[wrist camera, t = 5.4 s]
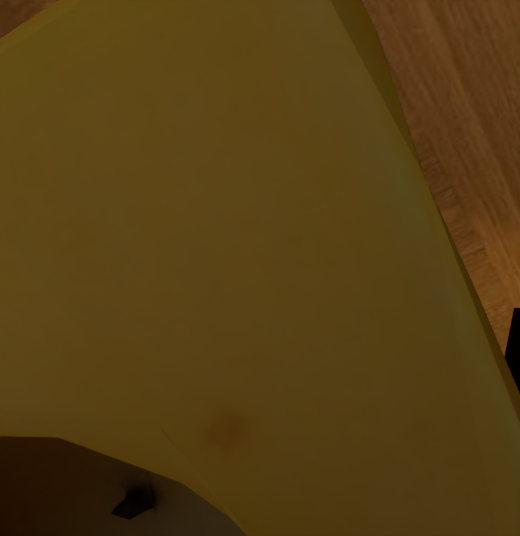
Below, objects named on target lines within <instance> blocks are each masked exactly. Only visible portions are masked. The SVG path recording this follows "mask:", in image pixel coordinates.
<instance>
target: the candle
mask: <svg viewBox="0 0 520 536" xmlns="http://www.w3.org/2000/svg"><path fill="white" fill-rule="evenodd" d="M0 536H520V393H519V391H518V388H517V386H516V384H515V381H514V379H513V376H512V374H511V372H510V369H509V367H508V365H507V362H506V360H505V358H504V355H503V353H502V351H501V348H500V346H499V343H498V341H497V339H496V336H495V334H494V332H493V329H492V327H491V325H490V322H489V320H488V318H487V315H486V313H485V310H484V308H483V306H482V303H481V301H480V299H479V296H478V294H477V292H476V290H475V287H474V285H473V283H472V281H471V279H470V276H469V274H468V272H467V270H466V268H465V265H464V263H463V261H462V259H461V257H460V254H459V252H458V250H457V248H456V245H455V243H454V241H453V239H452V237H451V234H450V232H449V230H448V228H447V226H446V223H445V221H444V219H443V217H442V215H441V212H440V210H439V208H438V206H437V204H436V201H435V199H434V197H433V195H432V193H431V190H430V188H429V186H428V184H427V182H426V179H425V176H424V173H423V170H422V167H421V164H420V161H419V158H418V155H417V152H416V149H415V146H414V143H413V140H412V137H411V134H410V132H409V129H408V126H407V123H406V120H405V117H404V114H403V111H402V108H401V105H400V102H399V99H398V96H397V93H396V90H395V87H394V84H393V81H392V78H391V75H390V72H389V69H388V66H387V63H386V60H385V57H384V54H383V51H382V48H381V45H380V42H379V39H378V36H377V33H376V30H375V27H374V25H373V23H372V21H371V19H370V17H369V15H368V13H367V11H366V9H365V7H364V5H363V3H362V1H361V0H57V1H56V2H54V3H53V4H51V5H50V6H48V7H47V8H45V9H44V10H42V11H41V12H39V13H38V14H36V15H35V16H33V17H32V18H30V19H29V20H27V21H26V22H24V23H23V24H21V25H20V26H18V27H17V28H15V29H14V30H12V31H11V32H9V33H8V34H6V35H5V36H3V37H2V38H0Z"/></svg>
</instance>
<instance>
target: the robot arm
mask: <svg viewBox="0 0 520 536" xmlns="http://www.w3.org/2000/svg"><path fill="white" fill-rule="evenodd" d="M504 358H505V360H506V362H507V365H508V367H509V369H510V372H511V374H512V376H513V379H514V381H515V384H516V386H517V388H518V391H519V393H520V308H514V312H513V317H512V322H511V327H510V332H509V337H508V342H507V347H506V352H505V357H504Z"/></svg>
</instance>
